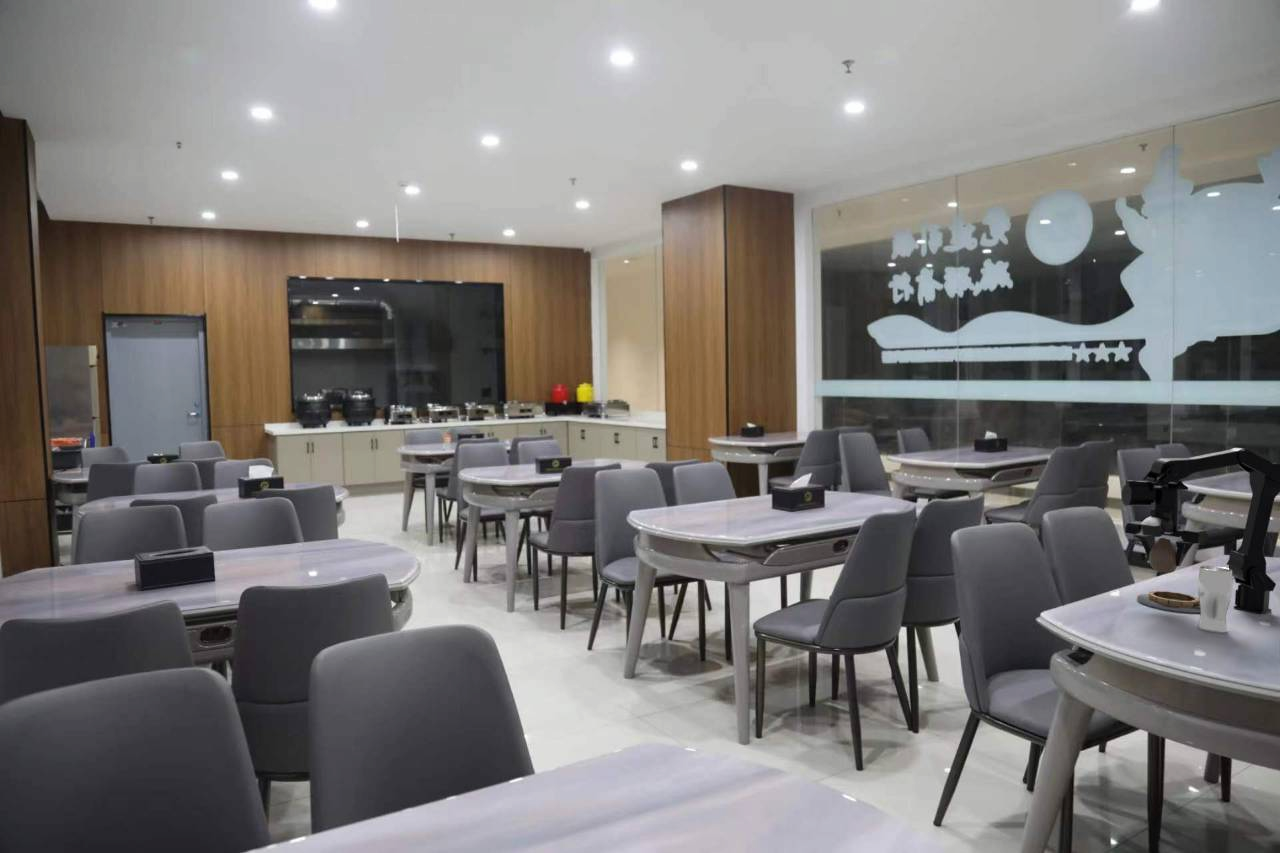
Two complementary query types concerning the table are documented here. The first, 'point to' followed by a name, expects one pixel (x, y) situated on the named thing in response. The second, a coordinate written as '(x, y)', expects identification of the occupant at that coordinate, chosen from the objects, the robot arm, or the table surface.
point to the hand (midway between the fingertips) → (1164, 563)
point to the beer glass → (1214, 597)
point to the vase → (1163, 556)
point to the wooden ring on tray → (1170, 601)
